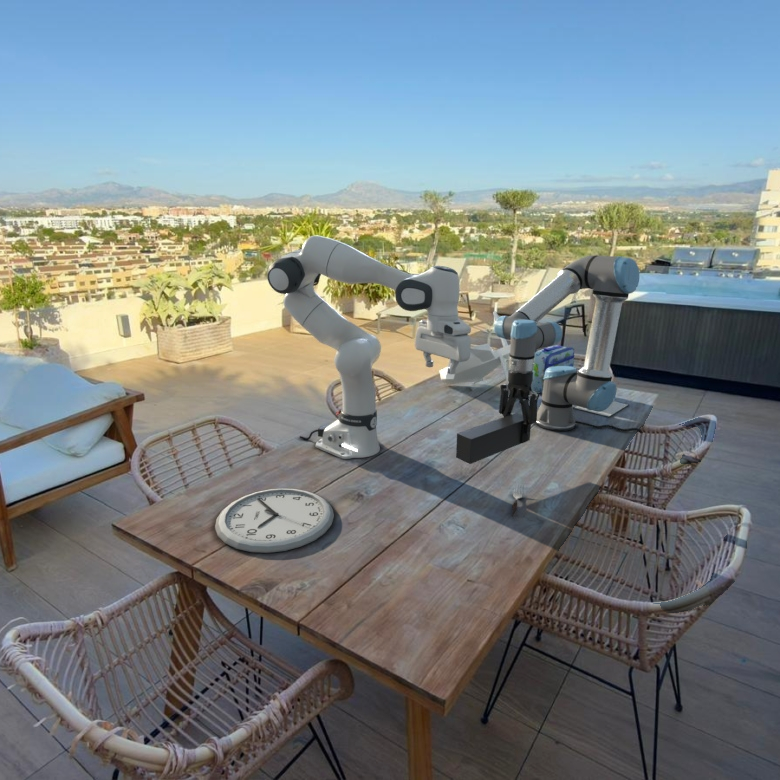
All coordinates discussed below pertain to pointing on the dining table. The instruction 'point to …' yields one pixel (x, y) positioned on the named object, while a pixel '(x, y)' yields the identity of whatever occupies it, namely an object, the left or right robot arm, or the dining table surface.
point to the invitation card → (609, 411)
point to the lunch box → (550, 363)
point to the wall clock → (274, 520)
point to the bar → (489, 438)
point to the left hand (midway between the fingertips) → (440, 370)
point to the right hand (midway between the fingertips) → (515, 438)
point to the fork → (517, 496)
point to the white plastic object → (478, 363)
